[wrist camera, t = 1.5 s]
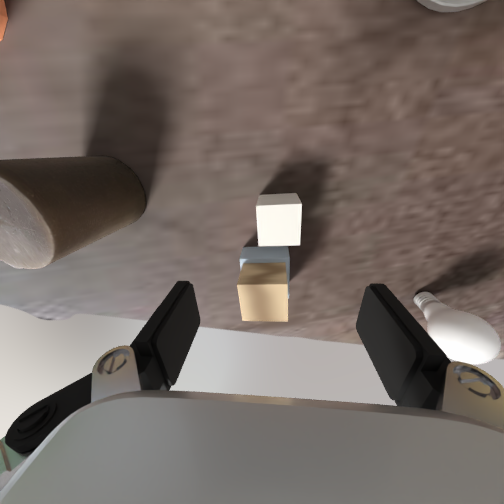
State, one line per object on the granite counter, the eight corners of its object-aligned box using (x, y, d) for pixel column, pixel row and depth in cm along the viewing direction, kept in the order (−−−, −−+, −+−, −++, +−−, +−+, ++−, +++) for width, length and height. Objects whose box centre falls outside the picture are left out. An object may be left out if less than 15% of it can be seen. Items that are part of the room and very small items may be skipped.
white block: (296, 192, 26) (302, 203, 21) (295, 227, 29) (300, 245, 23) (259, 194, 27) (256, 205, 22) (261, 228, 29) (258, 246, 24)
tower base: (287, 245, 30) (289, 258, 27) (287, 282, 33) (288, 297, 30) (243, 246, 31) (239, 258, 28) (246, 282, 34) (243, 297, 31)
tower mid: (285, 262, 27) (287, 284, 23) (285, 296, 30) (287, 321, 25) (242, 263, 28) (237, 284, 23) (247, 296, 31) (242, 320, 26)
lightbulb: (390, 297, 33) (439, 359, 23) (426, 272, 30) (500, 331, 20) (414, 315, 34) (470, 382, 24) (451, 293, 31) (531, 358, 22)
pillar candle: (142, 162, 26) (7, 173, 13) (149, 228, 31) (54, 287, 18) (73, 150, 27) (-128, 149, 13) (90, 218, 31) (-46, 267, 18)
